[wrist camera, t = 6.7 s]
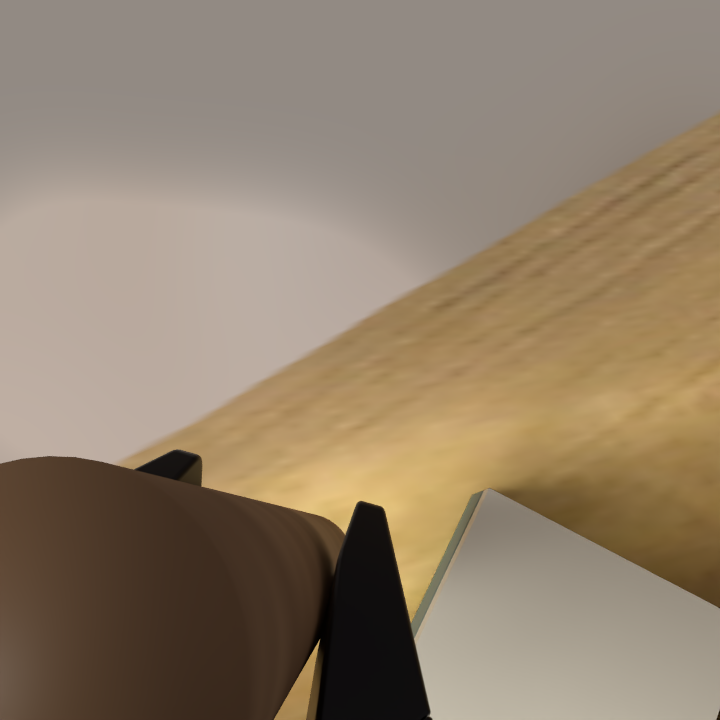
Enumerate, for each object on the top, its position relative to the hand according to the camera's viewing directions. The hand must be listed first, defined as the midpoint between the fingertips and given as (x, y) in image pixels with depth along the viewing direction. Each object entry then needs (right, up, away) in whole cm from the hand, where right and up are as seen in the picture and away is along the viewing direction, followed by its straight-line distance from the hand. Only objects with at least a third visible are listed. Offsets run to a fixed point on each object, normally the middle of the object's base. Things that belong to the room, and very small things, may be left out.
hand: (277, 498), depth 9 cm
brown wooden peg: (0, -3, +6) cm, 7 cm away
